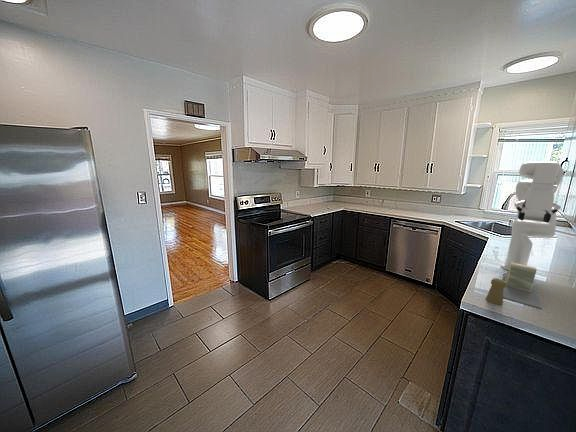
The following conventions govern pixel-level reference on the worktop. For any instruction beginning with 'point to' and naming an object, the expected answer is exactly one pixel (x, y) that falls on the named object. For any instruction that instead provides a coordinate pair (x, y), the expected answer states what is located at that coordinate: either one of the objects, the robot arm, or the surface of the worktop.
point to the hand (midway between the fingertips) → (532, 220)
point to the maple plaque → (521, 276)
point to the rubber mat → (522, 296)
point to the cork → (496, 292)
